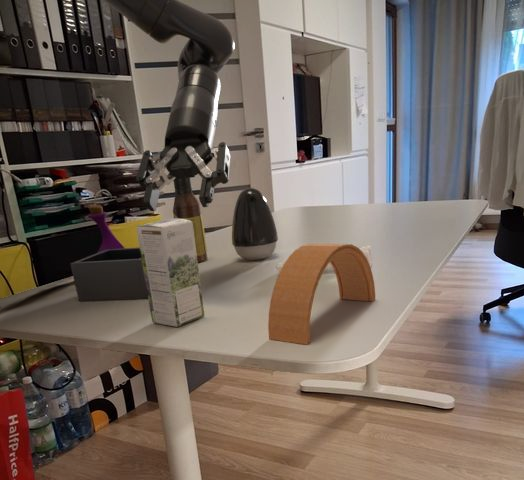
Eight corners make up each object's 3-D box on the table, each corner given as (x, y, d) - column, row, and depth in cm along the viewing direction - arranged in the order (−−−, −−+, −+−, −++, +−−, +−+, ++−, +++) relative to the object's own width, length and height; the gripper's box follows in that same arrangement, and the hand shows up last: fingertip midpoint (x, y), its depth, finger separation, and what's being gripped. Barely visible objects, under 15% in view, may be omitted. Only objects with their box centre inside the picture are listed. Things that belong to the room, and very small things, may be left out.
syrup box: (180, 312, 82) (165, 218, 77) (206, 316, 78) (192, 218, 73) (151, 323, 78) (133, 224, 73) (178, 328, 74) (161, 225, 69)
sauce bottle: (191, 258, 125) (178, 171, 118) (213, 258, 123) (201, 169, 115) (175, 264, 120) (161, 173, 113) (198, 264, 117) (185, 171, 110)
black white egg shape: (238, 265, 112) (229, 191, 106) (231, 257, 121) (223, 189, 116) (284, 258, 113) (278, 186, 108) (273, 251, 123) (267, 184, 118)
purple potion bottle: (101, 278, 113) (83, 192, 107) (97, 272, 120) (79, 191, 114) (136, 272, 116) (120, 188, 110) (129, 266, 123) (114, 187, 116)
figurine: (375, 258, 104) (289, 271, 110) (372, 232, 102) (284, 247, 108) (368, 281, 88) (268, 296, 94) (363, 251, 87) (262, 268, 93)
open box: (78, 301, 96) (69, 263, 93) (113, 283, 107) (106, 249, 105) (148, 298, 92) (141, 259, 90) (176, 280, 104) (170, 245, 101)
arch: (376, 299, 78) (375, 231, 74) (306, 344, 63) (300, 263, 59) (341, 296, 81) (338, 231, 77) (267, 338, 66) (259, 261, 63)
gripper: (142, 110, 82) (121, 193, 76) (227, 99, 79) (213, 184, 72) (161, 146, 89) (144, 224, 83) (241, 137, 85) (229, 218, 79)
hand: (176, 205), depth 78 cm, fingers open, 8 cm apart
